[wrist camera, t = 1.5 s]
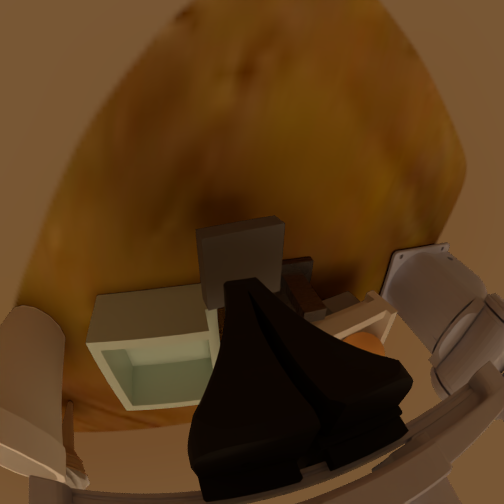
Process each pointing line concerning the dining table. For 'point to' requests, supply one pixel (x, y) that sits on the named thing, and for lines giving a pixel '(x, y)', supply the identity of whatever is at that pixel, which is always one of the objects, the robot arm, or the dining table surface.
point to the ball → (366, 342)
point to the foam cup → (31, 394)
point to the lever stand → (300, 289)
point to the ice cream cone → (72, 454)
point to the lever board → (278, 275)
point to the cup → (155, 345)
